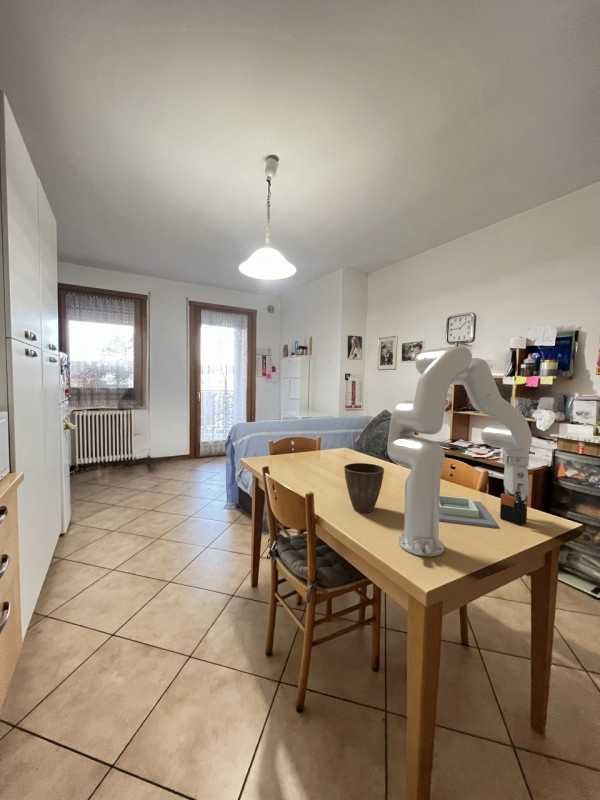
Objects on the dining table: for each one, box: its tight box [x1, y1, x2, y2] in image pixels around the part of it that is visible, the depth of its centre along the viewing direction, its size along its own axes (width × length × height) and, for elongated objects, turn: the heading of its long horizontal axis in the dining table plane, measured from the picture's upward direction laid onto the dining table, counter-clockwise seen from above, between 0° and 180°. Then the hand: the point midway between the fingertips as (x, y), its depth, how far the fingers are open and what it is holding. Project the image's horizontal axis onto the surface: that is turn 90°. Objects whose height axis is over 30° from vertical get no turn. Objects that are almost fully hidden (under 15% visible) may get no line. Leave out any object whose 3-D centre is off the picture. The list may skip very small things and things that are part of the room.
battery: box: [499, 491, 528, 526], centre depth 110 cm, size 4×7×10 cm, turn 31°
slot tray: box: [439, 494, 498, 529], centre depth 118 cm, size 22×22×4 cm
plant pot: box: [343, 462, 385, 514], centre depth 120 cm, size 15×15×16 cm
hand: (514, 508), depth 110 cm, fingers open, 9 cm apart
